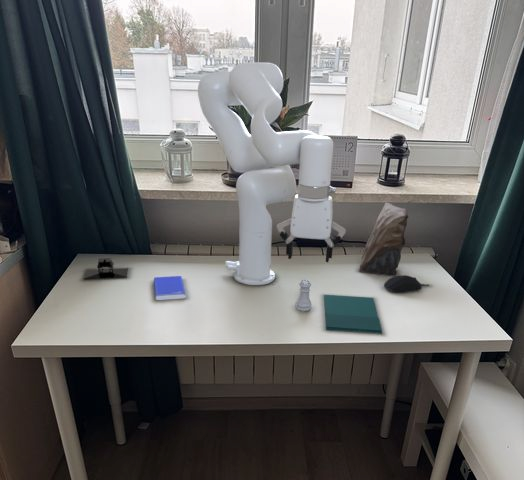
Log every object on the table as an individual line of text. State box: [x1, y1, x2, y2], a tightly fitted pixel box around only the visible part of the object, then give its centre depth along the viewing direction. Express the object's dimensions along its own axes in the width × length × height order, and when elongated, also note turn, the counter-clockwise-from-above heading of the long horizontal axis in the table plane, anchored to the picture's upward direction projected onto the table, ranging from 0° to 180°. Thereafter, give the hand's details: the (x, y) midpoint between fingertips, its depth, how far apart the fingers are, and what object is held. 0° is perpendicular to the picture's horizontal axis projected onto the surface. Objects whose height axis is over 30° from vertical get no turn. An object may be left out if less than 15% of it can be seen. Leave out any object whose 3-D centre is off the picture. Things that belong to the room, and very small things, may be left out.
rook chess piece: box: [294, 278, 313, 312], centre depth 136 cm, size 4×4×8 cm
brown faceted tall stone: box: [358, 201, 409, 277], centre depth 159 cm, size 13×13×20 cm
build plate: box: [83, 257, 129, 280], centre depth 152 cm, size 12×7×5 cm, turn 100°
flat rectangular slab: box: [323, 294, 383, 334], centre depth 137 cm, size 14×20×1 cm
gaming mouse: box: [383, 274, 430, 294], centre depth 151 cm, size 6×15×4 cm, turn 106°
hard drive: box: [153, 275, 187, 301], centre depth 145 cm, size 2×8×12 cm
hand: (308, 258), depth 131 cm, fingers open, 9 cm apart
